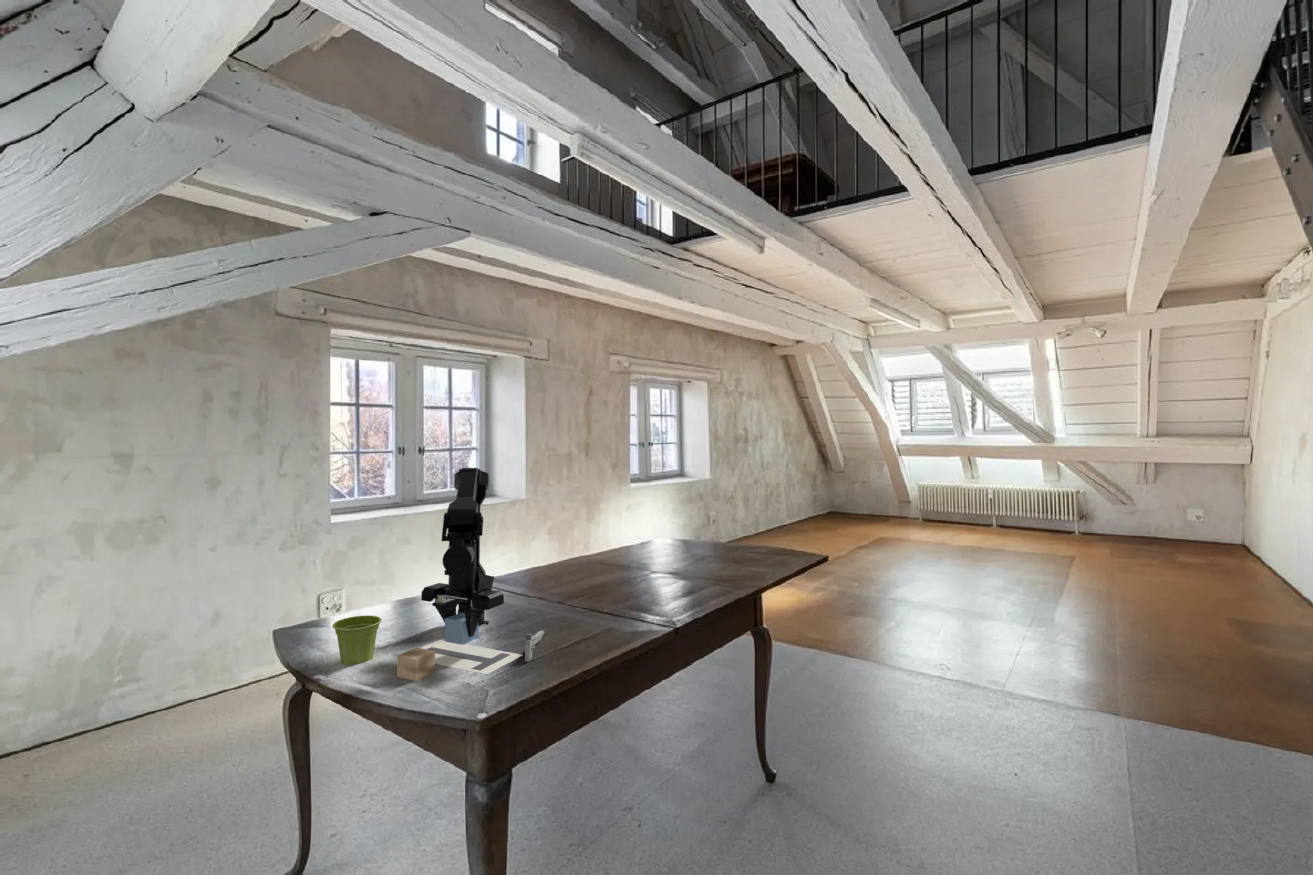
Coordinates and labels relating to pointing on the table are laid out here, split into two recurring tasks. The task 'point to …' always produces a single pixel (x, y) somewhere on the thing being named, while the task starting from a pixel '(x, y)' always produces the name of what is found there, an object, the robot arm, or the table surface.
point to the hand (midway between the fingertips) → (461, 634)
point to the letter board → (469, 656)
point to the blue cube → (458, 630)
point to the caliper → (531, 644)
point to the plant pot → (357, 638)
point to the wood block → (415, 664)
